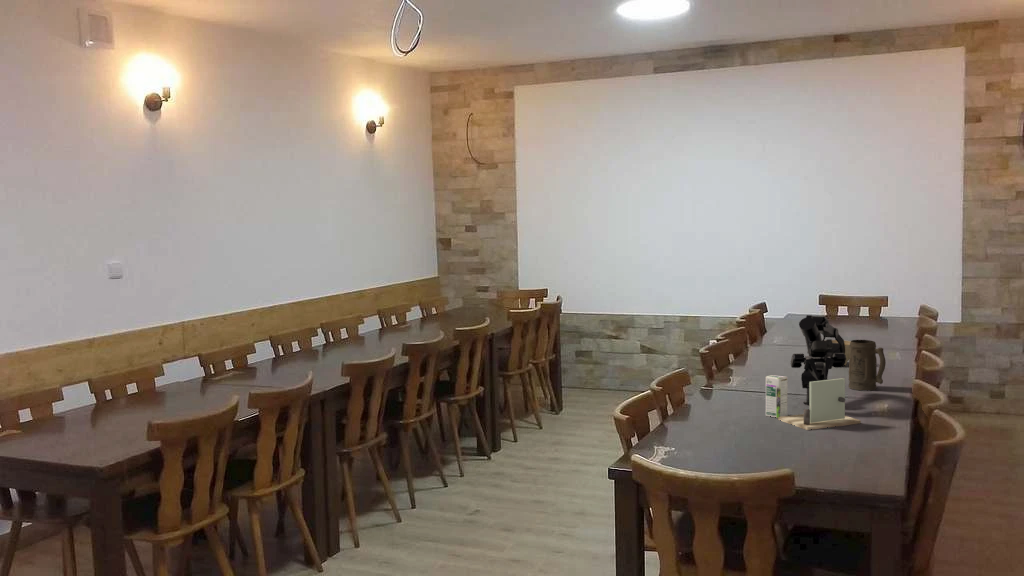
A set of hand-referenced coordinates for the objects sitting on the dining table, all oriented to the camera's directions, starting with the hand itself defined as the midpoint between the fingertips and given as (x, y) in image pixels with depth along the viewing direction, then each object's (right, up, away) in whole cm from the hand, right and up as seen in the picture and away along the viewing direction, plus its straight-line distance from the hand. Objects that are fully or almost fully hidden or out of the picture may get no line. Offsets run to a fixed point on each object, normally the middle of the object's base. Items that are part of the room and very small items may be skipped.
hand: (822, 379), depth 301 cm
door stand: (-5, -14, -10) cm, 17 cm away
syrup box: (-16, -13, 0) cm, 21 cm away
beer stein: (+34, -9, +41) cm, 54 cm away
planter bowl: (+42, -4, +96) cm, 105 cm away
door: (-3, -13, -15) cm, 20 cm away
